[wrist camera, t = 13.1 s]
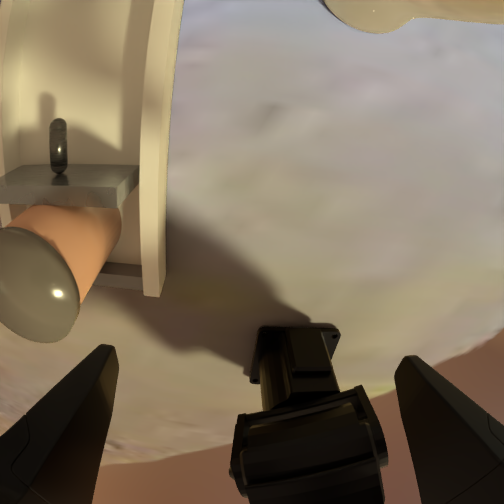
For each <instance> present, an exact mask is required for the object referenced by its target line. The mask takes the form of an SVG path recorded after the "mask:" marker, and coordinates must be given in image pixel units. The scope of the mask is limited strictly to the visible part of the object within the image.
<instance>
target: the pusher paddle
mask: <svg viewBox="0 0 504 504" xmlns="http://www.w3.org/2000/svg"><path fill="white" fill-rule="evenodd" d="M49 149H50V164H40V165H22V166H20V167H18V168H16V169H14V170H12V171H10V172H8V173H7V174H5V175H3V176H1V177H0V204H29V205H56V206H79V207H99V208H118V207H119V206H120V205H121V203H122V202H123V201H124V200H125V199H126V198H127V196H128V195H129V194H130V193H131V192H132V191H133V189H134V188H135V187H136V186H137V185H138V184H139V178H140V165H113V164H68V154H67V123H66V121H65V120H64V119H62V118H56V119H54V120H53V121H52V122H51V123H50V126H49Z"/></svg>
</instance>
